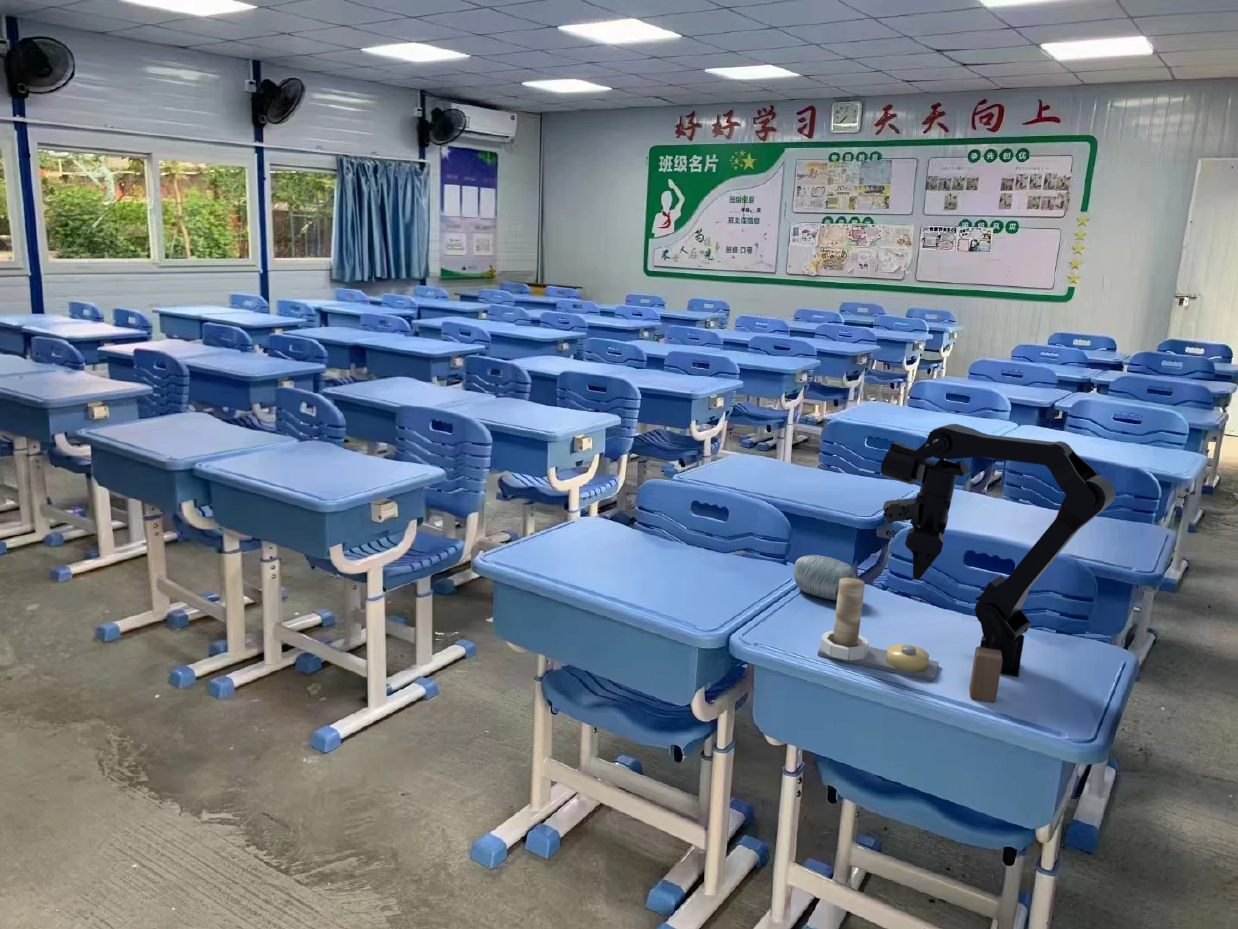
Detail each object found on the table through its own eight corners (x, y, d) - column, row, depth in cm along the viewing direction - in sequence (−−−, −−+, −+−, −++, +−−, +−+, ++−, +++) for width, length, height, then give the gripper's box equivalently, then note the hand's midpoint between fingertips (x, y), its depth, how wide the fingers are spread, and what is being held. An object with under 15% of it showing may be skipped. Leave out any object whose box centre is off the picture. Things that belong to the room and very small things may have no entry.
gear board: (938, 666, 168) (940, 647, 167) (932, 684, 161) (935, 664, 160) (826, 641, 176) (828, 623, 175) (816, 657, 169) (818, 638, 168)
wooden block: (969, 689, 160) (975, 645, 158) (994, 693, 159) (1001, 649, 157) (969, 699, 156) (976, 654, 154) (995, 704, 155) (1003, 659, 153)
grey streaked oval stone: (871, 584, 198) (854, 546, 194) (850, 614, 193) (833, 576, 189) (817, 580, 208) (800, 544, 205) (796, 608, 203) (778, 572, 199)
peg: (855, 646, 173) (863, 579, 170) (857, 656, 168) (865, 587, 165) (831, 643, 173) (838, 576, 170) (832, 653, 169) (840, 584, 166)
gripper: (896, 470, 183) (880, 545, 188) (885, 495, 167) (868, 576, 171) (956, 483, 180) (938, 559, 184) (951, 509, 163) (931, 592, 167)
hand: (918, 570), depth 177 cm, fingers open, 9 cm apart
